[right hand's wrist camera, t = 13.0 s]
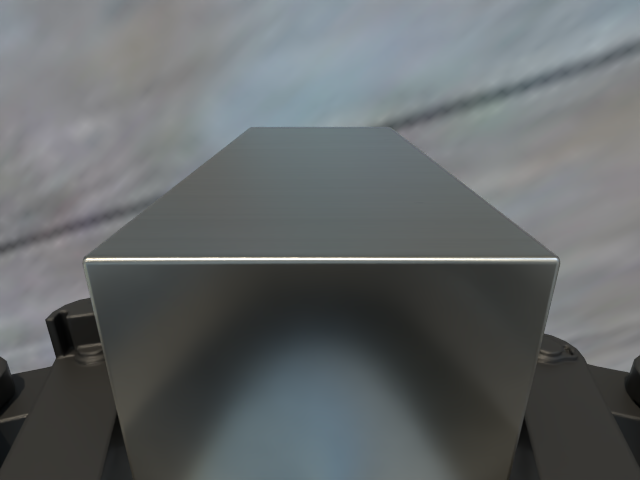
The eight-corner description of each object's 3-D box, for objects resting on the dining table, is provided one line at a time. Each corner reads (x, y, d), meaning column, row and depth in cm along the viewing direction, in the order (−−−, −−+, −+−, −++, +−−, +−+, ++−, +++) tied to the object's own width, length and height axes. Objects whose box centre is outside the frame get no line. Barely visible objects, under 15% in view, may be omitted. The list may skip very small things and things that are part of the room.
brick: (249, 127, 15) (78, 258, 4) (391, 126, 15) (564, 258, 4) (260, 306, 18) (171, 655, 7) (379, 307, 18) (469, 655, 7)
